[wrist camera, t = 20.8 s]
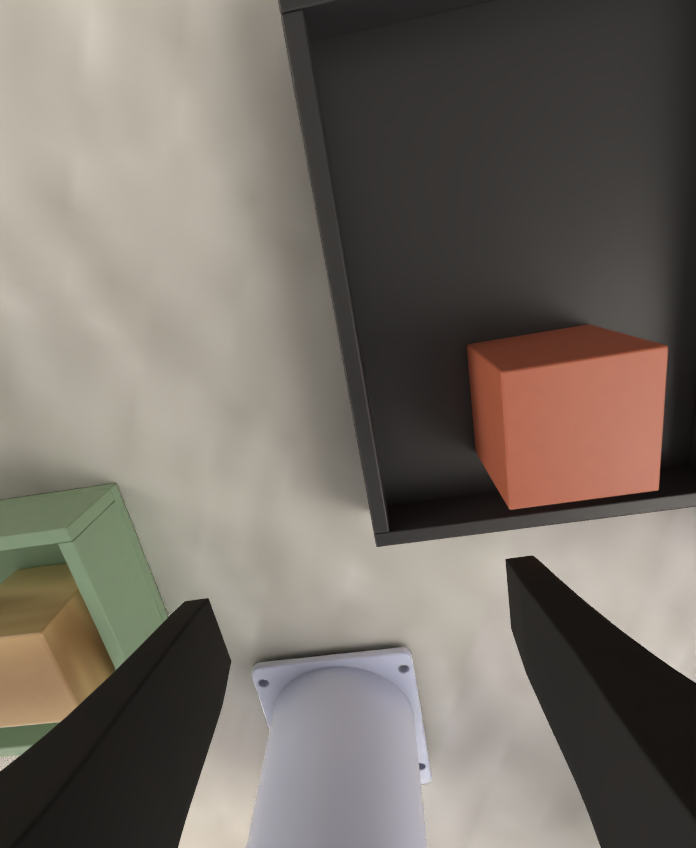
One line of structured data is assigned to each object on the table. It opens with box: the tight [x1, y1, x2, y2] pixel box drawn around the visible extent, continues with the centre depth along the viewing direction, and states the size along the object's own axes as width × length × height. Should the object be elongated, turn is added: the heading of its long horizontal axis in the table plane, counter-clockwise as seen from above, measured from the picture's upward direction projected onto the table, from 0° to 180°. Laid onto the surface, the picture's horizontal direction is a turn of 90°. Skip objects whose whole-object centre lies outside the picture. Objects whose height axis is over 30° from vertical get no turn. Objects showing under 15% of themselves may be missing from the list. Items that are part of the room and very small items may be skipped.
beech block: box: [0, 563, 115, 728], centre depth 19 cm, size 4×4×4 cm
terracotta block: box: [467, 324, 668, 510], centre depth 15 cm, size 4×4×4 cm
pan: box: [278, 0, 696, 547], centre depth 15 cm, size 17×13×2 cm
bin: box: [0, 483, 168, 757], centre depth 20 cm, size 11×13×4 cm
